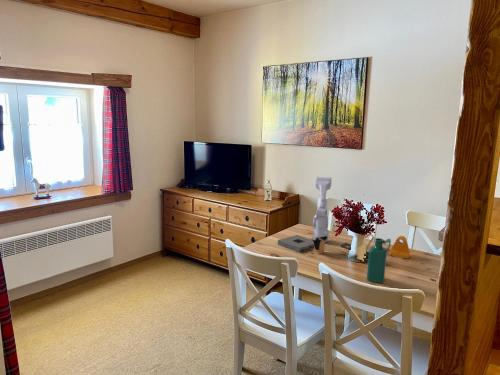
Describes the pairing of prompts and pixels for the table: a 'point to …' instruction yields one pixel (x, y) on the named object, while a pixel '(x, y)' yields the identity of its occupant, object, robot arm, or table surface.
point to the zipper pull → (350, 249)
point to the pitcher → (377, 261)
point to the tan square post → (320, 247)
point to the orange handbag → (400, 248)
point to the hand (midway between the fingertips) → (319, 248)
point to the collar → (297, 243)
